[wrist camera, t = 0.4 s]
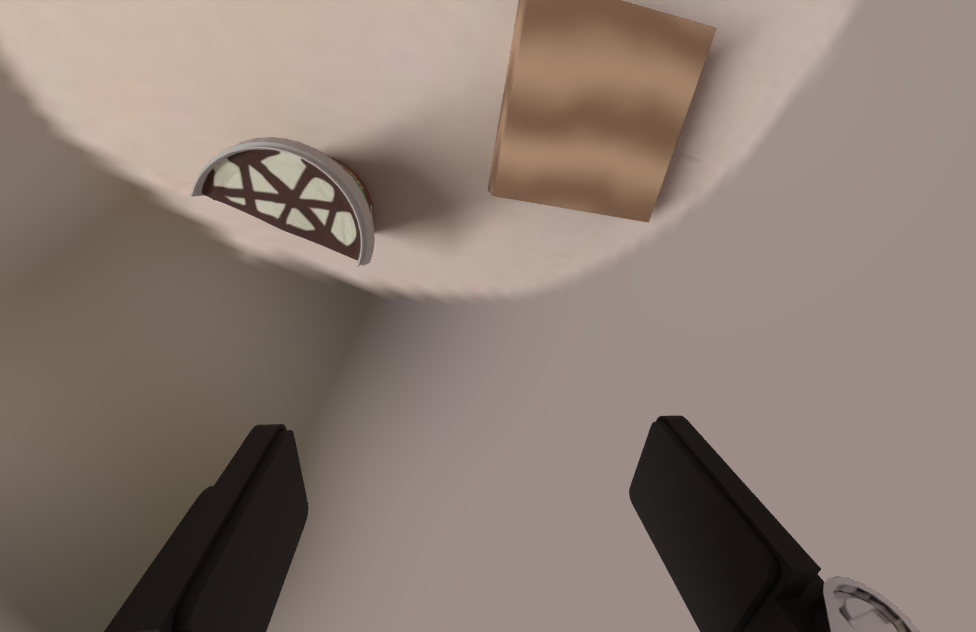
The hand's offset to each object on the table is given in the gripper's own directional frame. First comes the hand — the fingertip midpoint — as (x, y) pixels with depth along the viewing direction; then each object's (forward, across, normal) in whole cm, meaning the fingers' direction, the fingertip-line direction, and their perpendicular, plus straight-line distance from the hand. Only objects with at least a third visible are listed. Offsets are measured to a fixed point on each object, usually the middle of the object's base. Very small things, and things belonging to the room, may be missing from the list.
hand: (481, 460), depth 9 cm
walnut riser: (+30, -12, -11) cm, 34 cm away
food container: (+30, +11, -4) cm, 32 cm away
